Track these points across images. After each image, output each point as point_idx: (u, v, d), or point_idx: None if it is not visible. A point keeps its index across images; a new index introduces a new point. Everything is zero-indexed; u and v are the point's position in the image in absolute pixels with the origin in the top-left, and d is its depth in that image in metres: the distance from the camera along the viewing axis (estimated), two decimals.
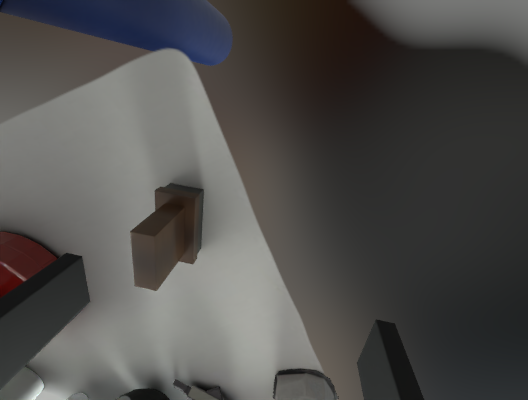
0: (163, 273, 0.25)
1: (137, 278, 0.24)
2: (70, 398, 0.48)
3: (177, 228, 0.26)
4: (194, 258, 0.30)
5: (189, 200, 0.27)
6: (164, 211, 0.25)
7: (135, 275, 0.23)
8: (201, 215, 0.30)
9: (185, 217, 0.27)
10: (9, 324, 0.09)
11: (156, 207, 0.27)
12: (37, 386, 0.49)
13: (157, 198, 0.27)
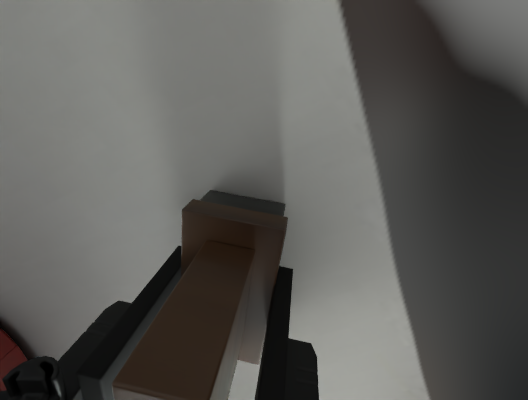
0: None
1: None
2: None
3: (242, 309, 0.10)
4: (261, 352, 0.14)
5: (268, 235, 0.11)
6: (212, 268, 0.09)
7: None
8: None
9: (253, 273, 0.11)
10: (160, 303, 0.10)
11: (184, 249, 0.11)
12: None
13: (187, 228, 0.11)
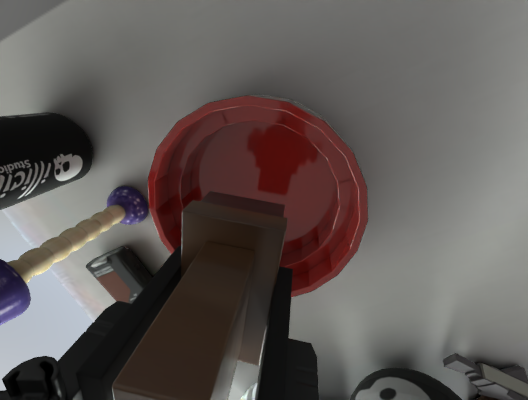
0: None
1: None
2: None
3: (242, 310, 0.10)
4: (261, 352, 0.14)
5: (268, 237, 0.11)
6: (212, 269, 0.10)
7: None
8: None
9: (253, 274, 0.11)
10: (160, 303, 0.10)
11: (184, 250, 0.12)
12: None
13: (187, 229, 0.11)
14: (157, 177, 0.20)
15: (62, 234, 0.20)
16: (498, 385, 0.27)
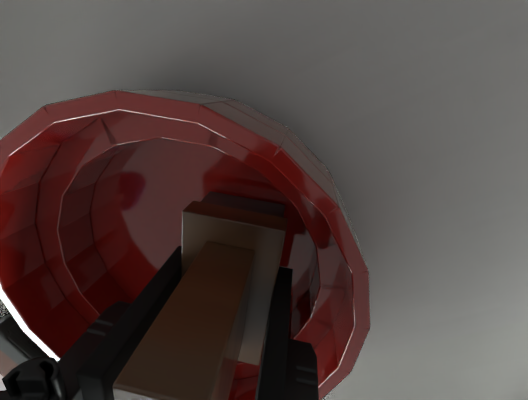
0: None
1: None
2: None
3: (242, 311, 0.10)
4: (261, 352, 0.14)
5: (268, 237, 0.11)
6: (212, 269, 0.10)
7: None
8: None
9: (253, 274, 0.11)
10: (160, 304, 0.10)
11: (184, 250, 0.12)
12: None
13: (187, 230, 0.11)
14: None
15: None
16: None
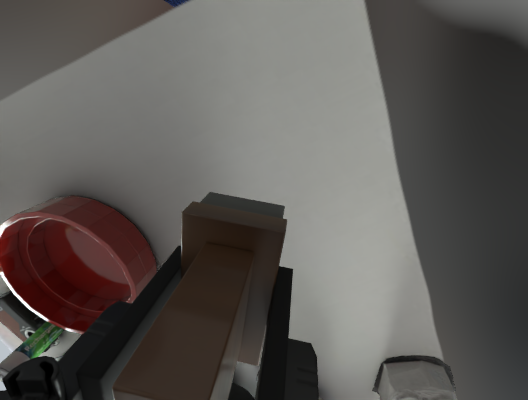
0: None
1: None
2: None
3: (242, 311, 0.10)
4: None
5: (268, 238, 0.11)
6: (212, 270, 0.10)
7: None
8: None
9: (253, 275, 0.12)
10: (160, 304, 0.10)
11: (183, 251, 0.12)
12: None
13: (187, 231, 0.11)
14: (0, 255, 0.30)
15: None
16: None
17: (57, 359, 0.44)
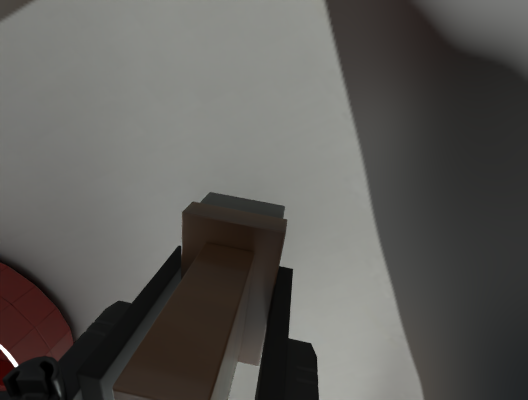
0: None
1: None
2: None
3: (242, 312, 0.10)
4: (261, 353, 0.14)
5: (268, 238, 0.11)
6: (212, 270, 0.10)
7: None
8: None
9: (253, 275, 0.11)
10: (160, 303, 0.10)
11: (184, 251, 0.12)
12: None
13: (187, 231, 0.11)
14: None
15: None
16: None
17: None
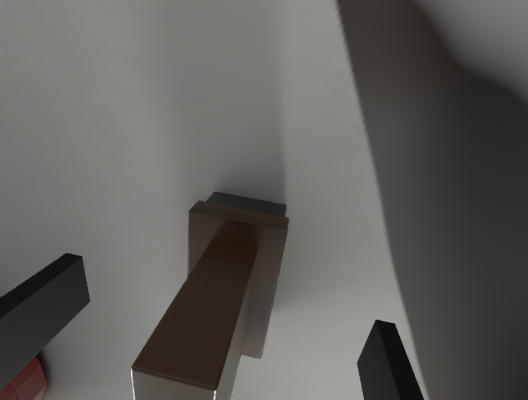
0: None
1: None
2: None
3: (246, 305, 0.11)
4: (263, 347, 0.14)
5: (271, 235, 0.11)
6: (218, 265, 0.10)
7: None
8: None
9: (256, 270, 0.12)
10: (9, 324, 0.09)
11: (190, 248, 0.12)
12: None
13: (194, 228, 0.12)
14: None
15: None
16: None
17: None
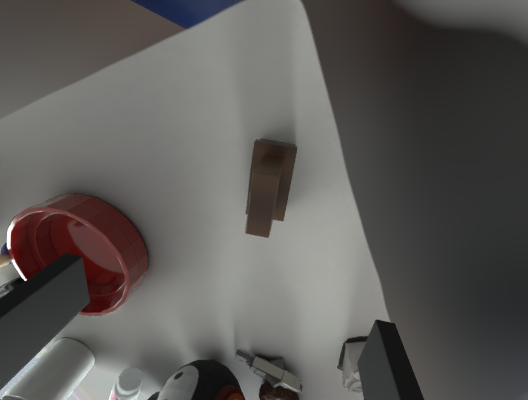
0: None
1: (250, 224, 0.23)
2: (125, 372, 0.47)
3: (280, 178, 0.26)
4: (284, 214, 0.29)
5: (290, 151, 0.26)
6: (269, 160, 0.25)
7: (248, 221, 0.23)
8: None
9: (283, 170, 0.27)
10: (9, 324, 0.09)
11: (253, 160, 0.27)
12: (89, 360, 0.49)
13: (256, 150, 0.27)
14: (12, 244, 0.34)
15: None
16: (259, 370, 0.41)
17: (58, 341, 0.49)
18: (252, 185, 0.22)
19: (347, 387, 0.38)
